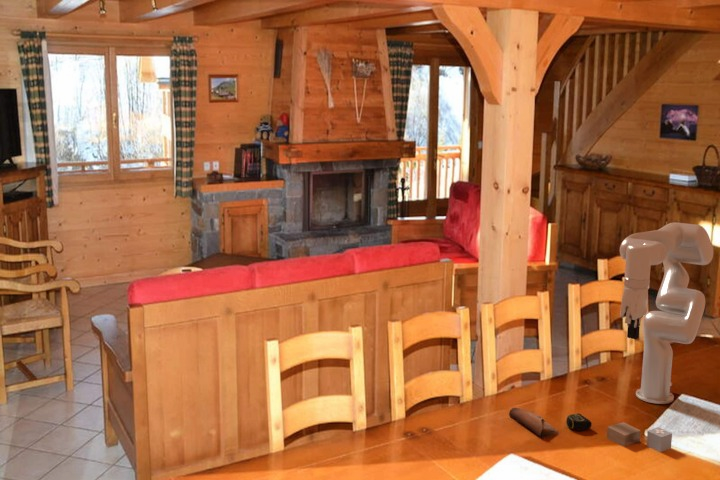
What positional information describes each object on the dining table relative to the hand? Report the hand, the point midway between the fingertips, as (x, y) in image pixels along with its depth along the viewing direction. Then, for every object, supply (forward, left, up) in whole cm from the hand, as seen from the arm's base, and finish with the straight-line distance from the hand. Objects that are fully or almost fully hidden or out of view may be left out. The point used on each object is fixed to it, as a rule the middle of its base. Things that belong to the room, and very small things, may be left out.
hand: (632, 337), depth 244 cm
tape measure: (+14, -10, -30) cm, 34 cm away
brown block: (+13, +5, -29) cm, 33 cm away
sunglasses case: (+23, -21, -30) cm, 43 cm away
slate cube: (+10, +15, -29) cm, 34 cm away
